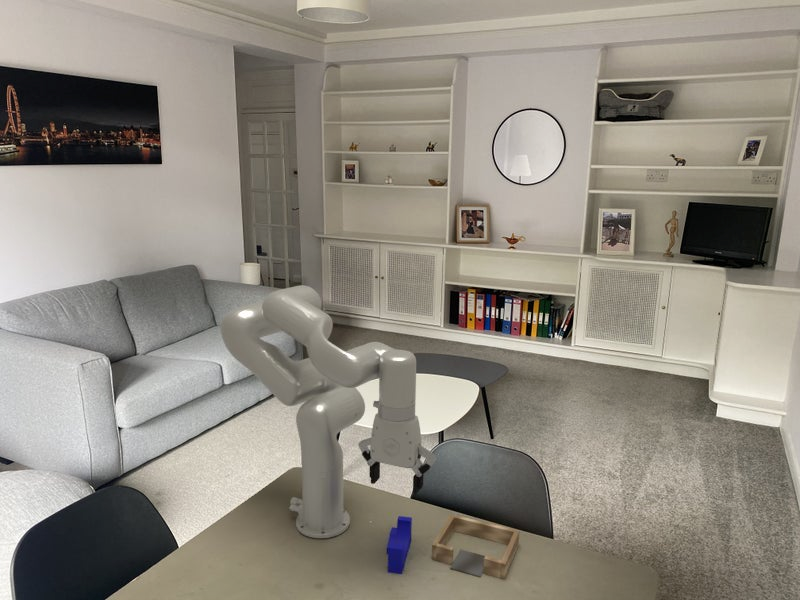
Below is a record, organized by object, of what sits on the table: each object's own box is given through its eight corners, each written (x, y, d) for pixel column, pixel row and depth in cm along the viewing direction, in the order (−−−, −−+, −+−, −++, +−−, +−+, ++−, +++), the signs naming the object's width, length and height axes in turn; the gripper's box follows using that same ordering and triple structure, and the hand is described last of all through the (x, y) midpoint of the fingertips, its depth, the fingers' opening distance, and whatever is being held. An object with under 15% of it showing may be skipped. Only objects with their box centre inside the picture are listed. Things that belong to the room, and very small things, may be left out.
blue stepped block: (391, 538, 141) (392, 515, 139) (411, 541, 140) (411, 517, 139) (380, 572, 129) (381, 546, 128) (401, 575, 128) (402, 549, 127)
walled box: (429, 563, 132) (429, 548, 131) (450, 527, 145) (451, 514, 144) (502, 583, 126) (503, 568, 125) (518, 544, 139) (519, 530, 138)
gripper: (351, 409, 127) (351, 485, 131) (430, 424, 121) (428, 503, 124) (367, 397, 134) (366, 469, 138) (442, 410, 127) (440, 486, 131)
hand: (395, 485), depth 131 cm, fingers open, 9 cm apart
